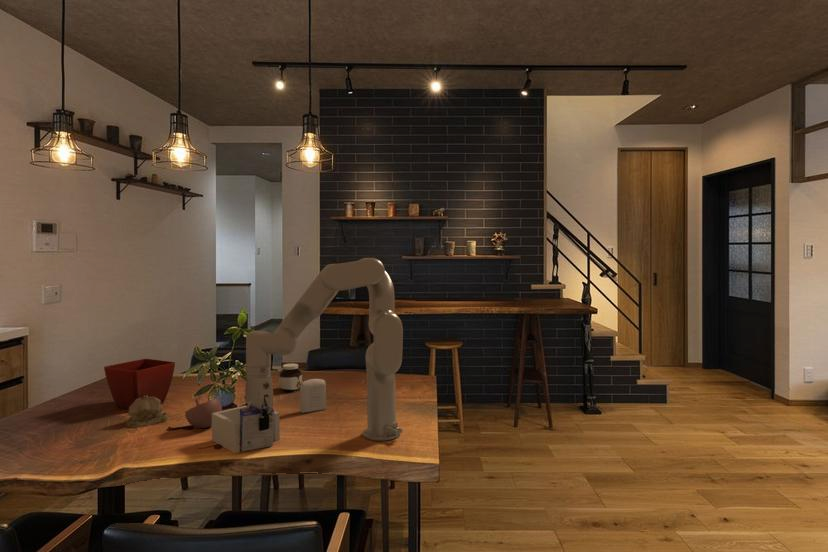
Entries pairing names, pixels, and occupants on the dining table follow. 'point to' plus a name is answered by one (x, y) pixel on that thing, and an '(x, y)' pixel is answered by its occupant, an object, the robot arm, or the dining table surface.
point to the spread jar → (290, 378)
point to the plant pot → (139, 380)
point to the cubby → (234, 428)
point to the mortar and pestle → (203, 412)
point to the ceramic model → (146, 412)
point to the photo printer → (312, 395)
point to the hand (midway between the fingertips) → (257, 426)
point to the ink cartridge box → (254, 430)
